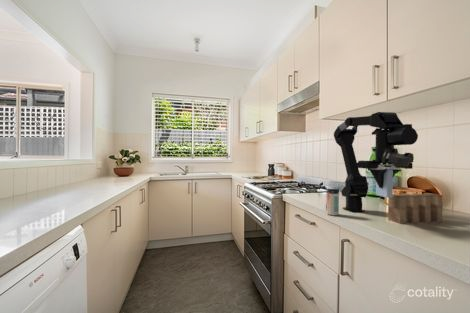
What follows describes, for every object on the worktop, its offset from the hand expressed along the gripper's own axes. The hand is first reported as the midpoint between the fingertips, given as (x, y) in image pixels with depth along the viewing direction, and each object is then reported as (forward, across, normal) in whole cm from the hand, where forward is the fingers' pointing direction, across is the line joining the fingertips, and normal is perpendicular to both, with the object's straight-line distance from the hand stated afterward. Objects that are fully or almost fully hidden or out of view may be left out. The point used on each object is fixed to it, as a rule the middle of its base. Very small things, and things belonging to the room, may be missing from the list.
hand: (383, 187), depth 80 cm
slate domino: (+3, 0, 0) cm, 3 cm away
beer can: (+13, -13, +12) cm, 22 cm away
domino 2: (+13, +11, 0) cm, 17 cm away
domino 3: (+13, +17, 0) cm, 21 cm away
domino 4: (+13, +22, 0) cm, 26 cm away
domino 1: (+13, +6, 0) cm, 14 cm away
